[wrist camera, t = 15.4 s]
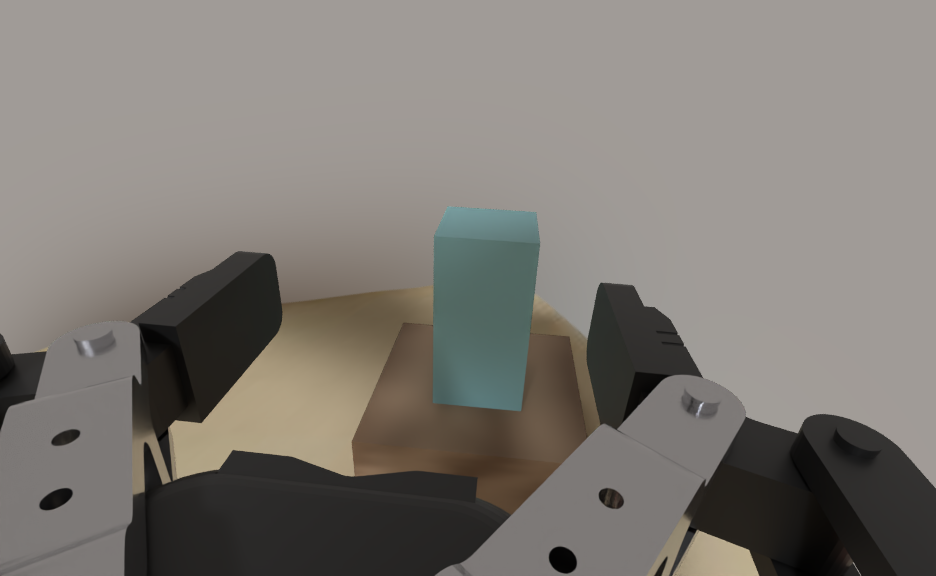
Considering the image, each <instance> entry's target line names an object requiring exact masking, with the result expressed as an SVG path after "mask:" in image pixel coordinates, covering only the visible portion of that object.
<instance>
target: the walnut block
mask: <svg viewBox="0 0 936 576" xmlns="http://www.w3.org/2000/svg"><path fill="white" fill-rule="evenodd" d="M586 439H587V435H586V429H585V423H584V418H583V412H582V406H581V401H580V395H579V389H578V384H577V378H576V372H575V367H574V361H573V355H572V350H571V344H570V338H569V337H566V336H555V335H543V334H531V333H530V337H529V346H528V355H527V364H526V373H525V382H524V391H523V399H522V408H521V411H513V410H502V409H491V408H480V407H470V406H459V405H448V404H437V403H433V325H424V324H412V323H403V325H402V328H401V330H400V332H399V335H398V337H397V339H396V341H395V344H394V346H393V348H392V351H391V353H390V355H389V357H388V360H387V362H386V364H385V367H384V369H383V371H382V373H381V376H380V378H379V380H378V383H377V385H376V387H375V389H374V392H373V394H372V396H371V399H370V401H369V403H368V405H367V408H366V410H365V412H364V415H363V417H362V419H361V421H360V424H359V426H358V428H357V431H356V433H355V435H354V438H353V440H352V450H353V461H354V472H355V476H365V475H375V474H386V473H396V472H406V471H425V472H434V473H443V474H452V475H461V476H470V477H478V479H477V491H476V497H477V498H479V499H482V500H484V501H487V502H489V503H491V504H493V505H495V506H497V507H500V508H502V509H503V510H505V511H506V512H508V513H509V514H511V515H512V514H513V513H514V512H515V511H516V510H517V509H518V508H519V507H520V506H521V505H522V504H523V503H524V502H525V501H526V500H527V499H528V498H529V497H530V496H531V495H532V494H533V493H534V492H535V491H536V490H537V489H538V488H539V487H540V486H541V485H542V484H543V483H544V482H545V481H546V479H547V478H548V477H549V476H550V475H551V474H552V473H553V472H554V471H555V470H556V469H557V468H558V467H559V466H560V465H561V464H562V463H563V462H564V461H565V460H566V459H567V458H568V457H569V456H570V455H571V454H572V453H573V452H574V451H575V450H576V449H577V448H578V447H579V446H580V445H581V444H582V443H583V442H584V441H585V440H586Z"/></svg>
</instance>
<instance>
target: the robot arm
mask: <svg viewBox="0 0 936 576" xmlns="http://www.w3.org/2000/svg"><path fill="white" fill-rule="evenodd" d="M281 321H282V305H281V298H280V291H279V285H278V278H277V271H276V265H275V261H274V259H273V257H272V256H271V255H270V254H265V253H254V252H253V253H252V252H242V251H238V252H236V253H234V254H233V255H231V256H230V257H229V258H227V259H226V260H225V261H223V262H222V263H221V264H219V265H218V266H216V267H215V268H214V269H212V270H210V271H207V272H205V273H202V274H200V275H198V276H195V277H193V278H192V279H191V280H189V281H188V282H186V283H185V284H183V285H182V286H181V287H180V289H176V290H175V291H174V292H172V293H171V294H169V295H168V298H164V299H162V300H161V301H159V302H158V303H157V304H155V305H154V306H152V307H151V308H149V309H148V310H147V311H145V312H144V313H142V314H141V315H140V316H138V317H137V318H135V319H134V320H132V321H131V322H125V321H107V322H100V323H95V324H90V325H87V326H83V327H80V328H78V329H75V330H73V331H70V332H68V333H66V334H64V335H62V336H60V337H59V338H57V339H56V340H55V341H54V342H53V343H51V345H50V346H49V347H48V350H47V351H46V352H35V353H24V354H12V355H11V353H10V350H9V349H8V346H7V344H6V342H5V340H4V338H3V336H2V335H1V334H0V576H675V575H676V573H677V571H678V569H679V567H680V565H681V564H682V562H683V560H684V558H685V556H686V554H687V553H688V551H689V549H690V547H691V545H692V543H693V541H694V540H695V538H696V536H697V534H698V532H699V531H702V532H704V533H707V534H710V535H712V536H715V537H717V538H720V539H723V540H725V541H728V542H730V543H733V544H735V545H738V546H741V547H743V548H746V549H748V550H750V553H751V556H752V558H753V561H754V563H755V566H756V568H757V571H758V573H759V576H860V574H861V576H936V488H935V487H934V486H933V485H932V484H931V483H930V482H929V480H928V479H927V478H926V477H925V476H924V475H923V474H922V473H921V471H920V470H919V469H918V468H917V467H916V466H915V464H914V463H913V462H912V461H911V460H910V459H909V458H908V457H907V455H906V454H905V453H904V452H903V451H902V450H901V449H900V448H899V447H898V446H897V445H896V444H894V443H893V442H892V441H891V440H889V439H888V438H886V437H885V436H884V435H882V434H880V433H879V432H877V431H875V430H873V429H871V428H870V427H868V426H866V425H863V424H861V423H858V422H856V421H853V420H850V419H847V418H844V417H839V416H834V415H826V414H818V415H813V416H810V417H808V418H807V419H805V420H804V422H803V424H802V426H801V428H800V430H799V433H794V432H790V431H787V430H784V429H781V428H777V427H774V426H771V425H767V424H764V423H761V422H758V421H755V420H752V419H749V418H747V417H746V411H745V408H744V406H743V404H742V402H741V401H740V400H739V399H738V398H737V397H736V396H735V395H734V394H733V393H732V392H730V391H729V390H727V389H726V388H724V387H722V386H721V385H719V384H717V383H715V382H713V381H710V380H707V379H704V378H703V377H702V375H701V373H700V372H699V370H698V368H697V366H696V364H695V363H694V361H693V359H692V358H691V356H690V354H689V352H688V350H687V348H686V347H684V343H683V341H682V340H681V338H680V336H679V335H677V331H676V329H675V327H674V325H673V324H672V322H671V320H670V319H669V318H667V317H666V316H665V315H664V314H662V313H661V312H660V311H658V310H657V309H656V308H655V307H644V305H643V303H642V301H641V299H640V298H639V295H638V293H637V291H636V290H635V287H634V286H633V285H623V284H611V283H600V285H599V287H598V290H597V294H596V300H595V305H594V310H593V315H592V320H591V326H590V331H589V335H588V341H587V365H588V370H589V374H590V379H591V383H592V388H593V393H594V397H595V402H596V406H597V411H598V415H599V420H600V424H601V425H600V426H599V427H598V428H597V429H596V430H595V431H594V432H593V433H592V434H591V435H590V436H589V437H588V438H587V439H586V440H585V441H584V442H583V443H582V444H581V445H580V446H579V447H578V448H577V449H576V450H575V451H574V452H573V453H572V454H571V455H570V456H569V457H568V458H567V459H566V460H565V461H564V462H563V463H562V464H561V465H560V466H559V467H558V468H557V469H556V470H555V471H554V472H553V473H552V474H551V475H550V476H549V477H548V478H547V479H546V481H545V482H544V483H543V484H542V485H541V486H540V487H539V488H538V489H537V490H536V491H535V492H534V493H533V494H532V495H531V496H530V497H529V498H528V499H527V500H526V501H525V502H524V503H523V504H522V505H521V506H520V507H519V508H518V509H517V510H516V511H515V512H514V513H513V514H512V515H511V514H509V513H508V512H506V511H505V510H503V509H502V508H500V507H497V506H495V505H493V504H491V503H489V502H487V501H484V500H482V499H479V498H477V497H476V491H477V479H478V477H470V476H461V475H452V474H443V473H434V472H425V471H406V472H396V473H386V474H375V475H365V476H354V477H350V476H344V475H341V474H338V473H335V472H332V471H330V470H327V469H324V468H321V467H319V466H316V465H313V464H310V463H308V462H305V461H302V460H299V459H297V458H294V457H290V456H281V455H272V454H263V453H254V452H245V451H236V450H233V451H232V452H231V454H230V455H229V457H228V458H227V459H226V461H225V462H224V464H223V465H222V466H221V468H220V469H219V470H212V471H207V472H202V473H197V474H193V475H190V476H186V477H182V478H179V479H177V472H176V462H175V453H174V443H173V437H172V433H171V430H170V427H169V426H170V425H171V424H172V423H173V422H174V421H175V420H178V421H188V422H197V423H202V422H203V421H204V419H205V418H206V417H207V416H208V415H209V413H210V412H211V411H212V410H213V409H214V408H215V406H216V405H217V404H218V403H219V402H220V400H221V399H222V398H223V397H224V396H225V395H226V393H227V392H228V391H229V390H230V389H231V387H232V386H233V385H234V384H235V383H236V382H237V380H238V379H239V378H240V377H241V376H242V374H243V373H244V372H245V371H246V370H247V368H248V367H249V366H250V365H251V364H252V363H253V361H254V360H255V359H256V358H257V357H258V355H259V354H260V353H261V352H262V351H263V350H264V348H265V347H266V346H267V345H268V344H269V342H270V341H271V340H272V339H273V338H274V336H275V335H276V334H277V332H278V331H279V328H280V325H281ZM853 562H854V563H855V565H856V567H857V569H858V570H859V572H860V574H859V573H858V571H857V569H856V568H855V566H854V564H853Z"/></svg>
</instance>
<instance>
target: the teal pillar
mask: <svg viewBox="0 0 936 576" xmlns="http://www.w3.org/2000/svg"><path fill="white" fill-rule="evenodd" d="M539 248H540V240H539V231H538V223H537V214H536V212H525V211H510V210H494V209H493V210H492V209H479V208H464V207H447V209H446V212H445V214H444V216H443V218H442V220H441V222H440V224H439V227H438V229H437V231H436V233H435V235H434V301H433V403H437V404H448V405H459V406H470V407H480V408H491V409H502V410H513V411H521V408H522V399H523V391H524V382H525V373H526V364H527V355H528V346H529V337H530V328H531V320H532V311H533V302H534V293H535V284H536V275H537V266H538V257H539Z"/></svg>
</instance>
